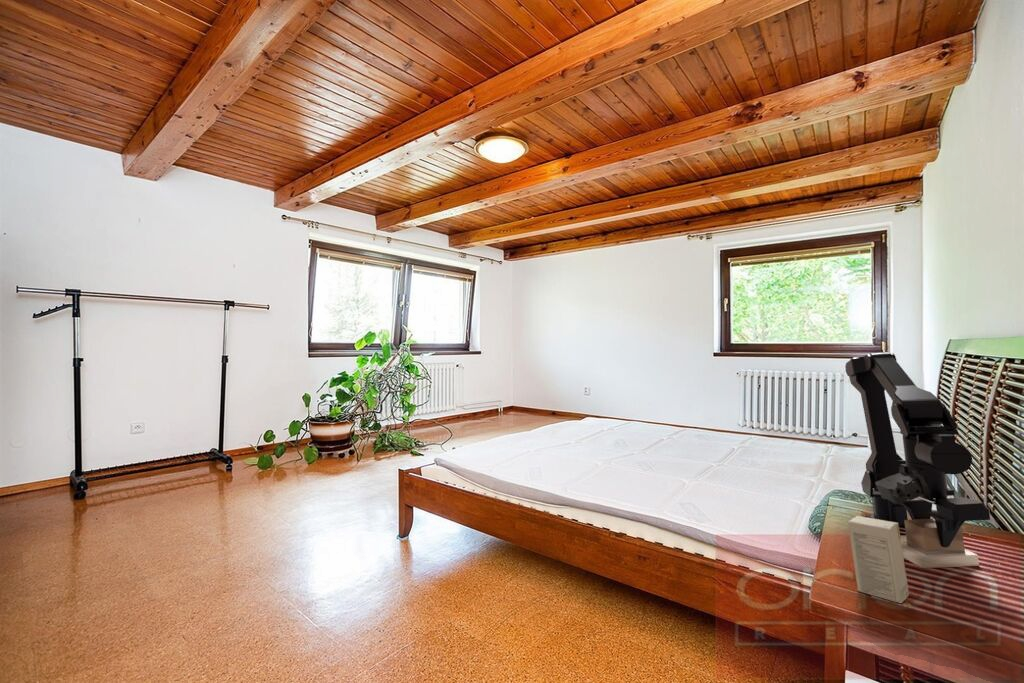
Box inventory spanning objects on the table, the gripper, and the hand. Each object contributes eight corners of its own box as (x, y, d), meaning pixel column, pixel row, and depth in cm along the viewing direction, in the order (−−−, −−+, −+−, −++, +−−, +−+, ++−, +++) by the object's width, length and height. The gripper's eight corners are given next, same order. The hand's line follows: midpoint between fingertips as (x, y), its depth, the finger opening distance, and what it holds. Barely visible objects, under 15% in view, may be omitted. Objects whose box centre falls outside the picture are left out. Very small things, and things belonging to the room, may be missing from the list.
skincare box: (909, 595, 76) (901, 522, 77) (901, 605, 74) (892, 529, 74) (864, 582, 82) (856, 513, 82) (854, 590, 79) (847, 520, 80)
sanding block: (907, 545, 90) (904, 519, 90) (944, 543, 90) (941, 518, 90) (926, 554, 86) (923, 528, 86) (965, 553, 85) (961, 526, 85)
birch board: (883, 546, 95) (881, 536, 95) (933, 543, 94) (931, 534, 94) (922, 568, 85) (921, 557, 85) (979, 565, 84) (977, 554, 84)
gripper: (849, 454, 98) (857, 526, 98) (920, 475, 80) (931, 565, 79) (903, 450, 98) (911, 523, 97) (987, 472, 79) (999, 562, 78)
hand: (934, 541), depth 88 cm, fingers closed on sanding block, 4 cm apart
